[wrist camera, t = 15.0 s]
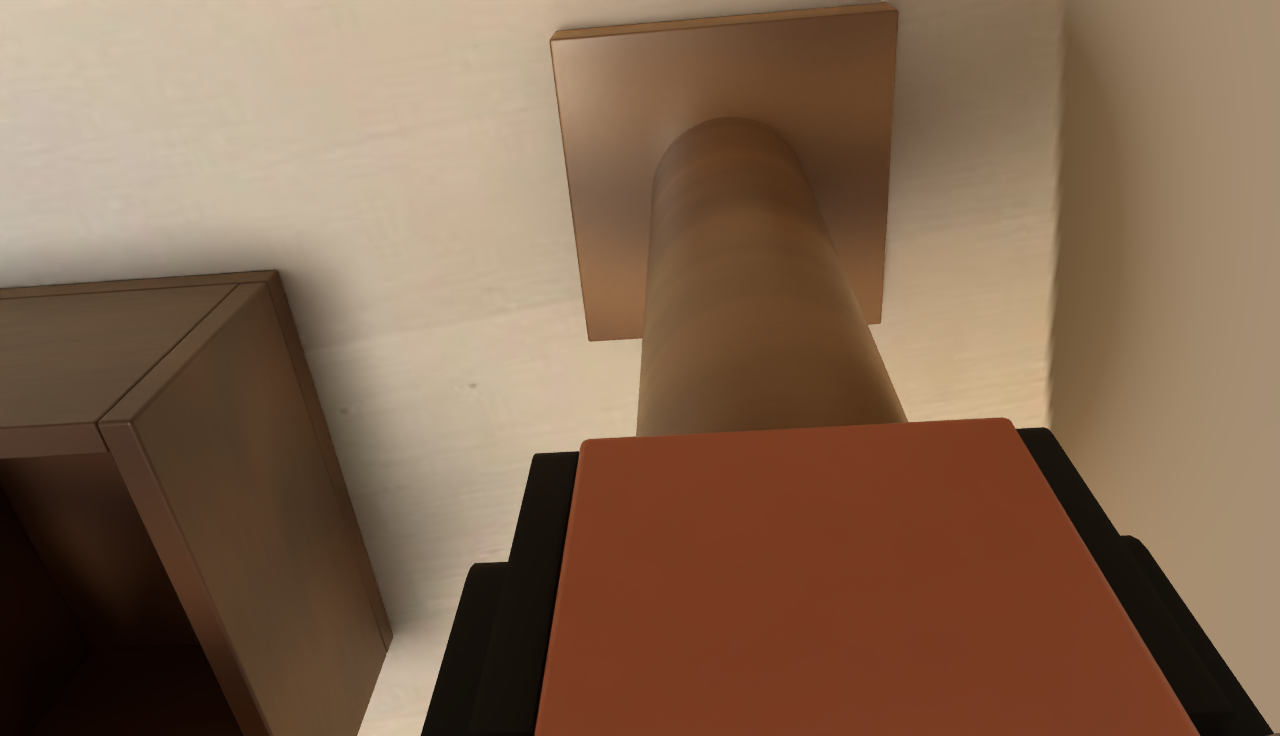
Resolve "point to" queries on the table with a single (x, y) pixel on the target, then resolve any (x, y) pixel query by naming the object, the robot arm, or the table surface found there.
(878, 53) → the stand
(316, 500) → the compartment
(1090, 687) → the block
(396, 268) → the table surface
